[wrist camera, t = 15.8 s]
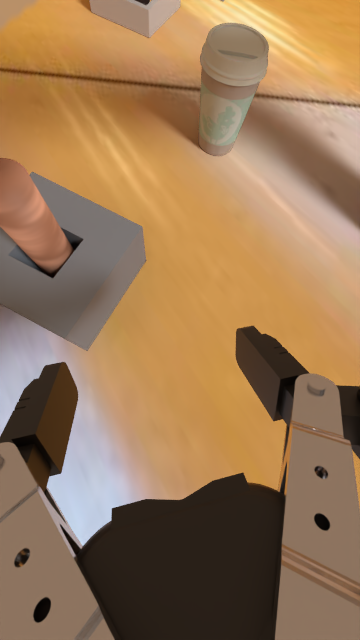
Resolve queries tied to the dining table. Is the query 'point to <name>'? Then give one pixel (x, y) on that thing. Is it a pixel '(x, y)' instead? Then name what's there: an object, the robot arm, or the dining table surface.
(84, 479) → the dining table surface
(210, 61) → the coffee cup
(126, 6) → the tray
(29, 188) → the pin
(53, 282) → the hole block
